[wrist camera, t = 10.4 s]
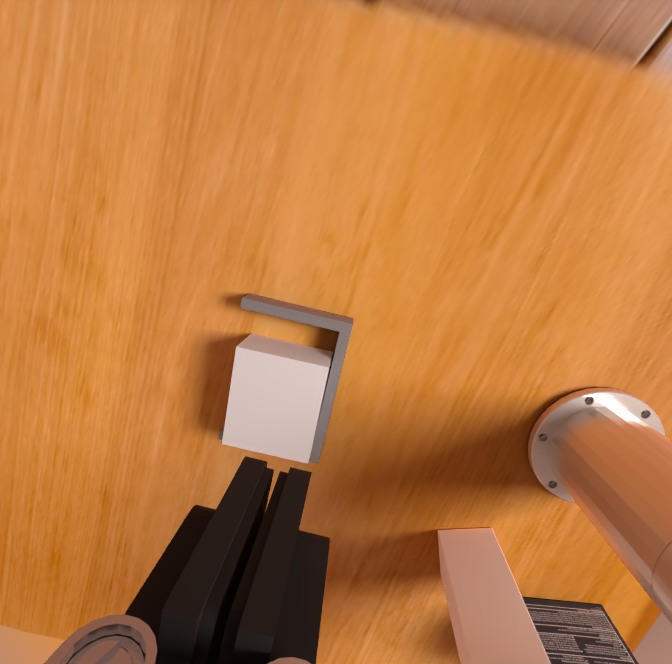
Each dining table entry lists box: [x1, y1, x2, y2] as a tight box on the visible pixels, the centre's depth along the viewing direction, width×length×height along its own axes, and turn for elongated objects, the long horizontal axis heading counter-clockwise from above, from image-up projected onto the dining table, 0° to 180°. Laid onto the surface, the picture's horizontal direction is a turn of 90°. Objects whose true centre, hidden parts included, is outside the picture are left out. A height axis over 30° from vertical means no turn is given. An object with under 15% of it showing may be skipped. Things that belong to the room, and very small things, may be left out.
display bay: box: [219, 294, 353, 463], centre depth 39 cm, size 10×15×2 cm
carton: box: [222, 333, 333, 464], centre depth 38 cm, size 8×10×5 cm
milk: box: [438, 528, 551, 664], centre depth 33 cm, size 6×6×22 cm
